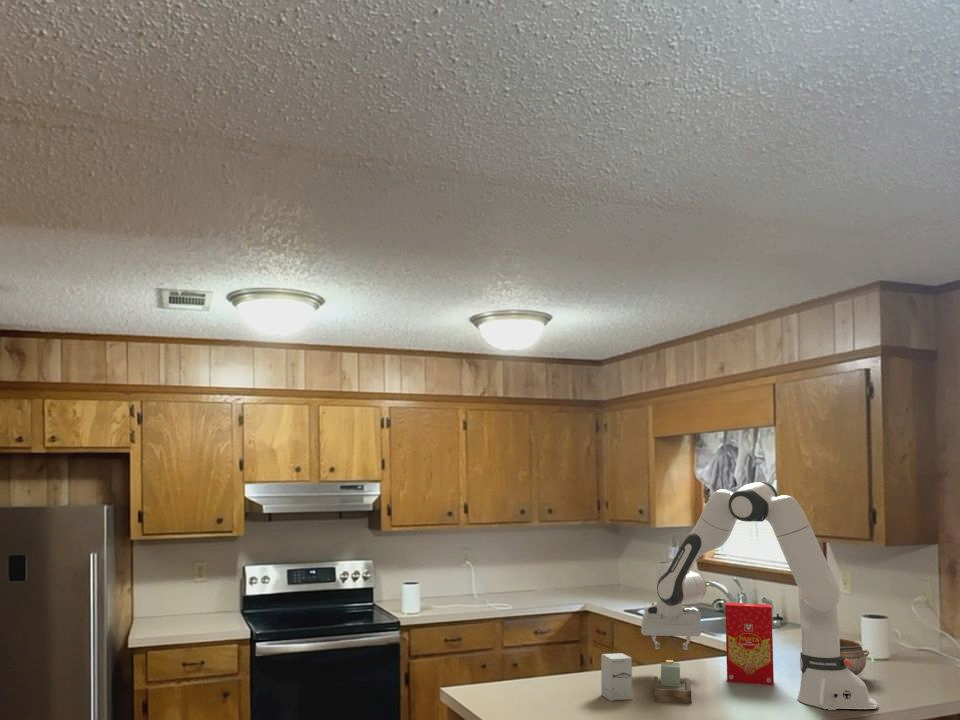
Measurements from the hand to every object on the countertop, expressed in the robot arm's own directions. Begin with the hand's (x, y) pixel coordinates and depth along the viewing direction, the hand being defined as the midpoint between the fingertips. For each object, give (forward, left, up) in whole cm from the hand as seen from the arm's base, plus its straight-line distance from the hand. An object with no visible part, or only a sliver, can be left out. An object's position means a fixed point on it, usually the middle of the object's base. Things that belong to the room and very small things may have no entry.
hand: (671, 648), depth 306 cm
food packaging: (-25, +6, -8) cm, 27 cm away
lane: (+1, +28, -8) cm, 29 cm away
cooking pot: (-54, -4, -8) cm, 55 cm away
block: (+1, +8, -8) cm, 12 cm away
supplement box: (+18, +34, -8) cm, 39 cm away
